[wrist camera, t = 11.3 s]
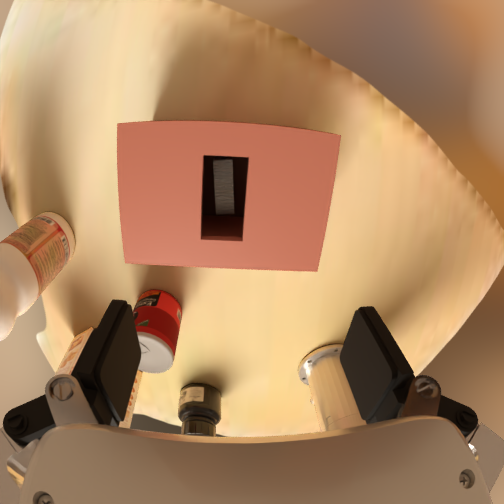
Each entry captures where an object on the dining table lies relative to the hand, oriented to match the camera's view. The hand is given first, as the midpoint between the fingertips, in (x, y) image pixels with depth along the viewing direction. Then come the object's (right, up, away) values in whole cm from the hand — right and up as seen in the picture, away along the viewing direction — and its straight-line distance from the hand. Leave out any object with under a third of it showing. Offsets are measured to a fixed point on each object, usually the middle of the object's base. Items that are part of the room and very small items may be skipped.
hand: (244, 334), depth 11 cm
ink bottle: (-11, -27, +45) cm, 54 cm away
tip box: (-3, +13, +25) cm, 28 cm away
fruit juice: (-32, +6, +27) cm, 42 cm away
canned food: (-15, -6, +34) cm, 37 cm away
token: (-3, +14, +20) cm, 25 cm away
